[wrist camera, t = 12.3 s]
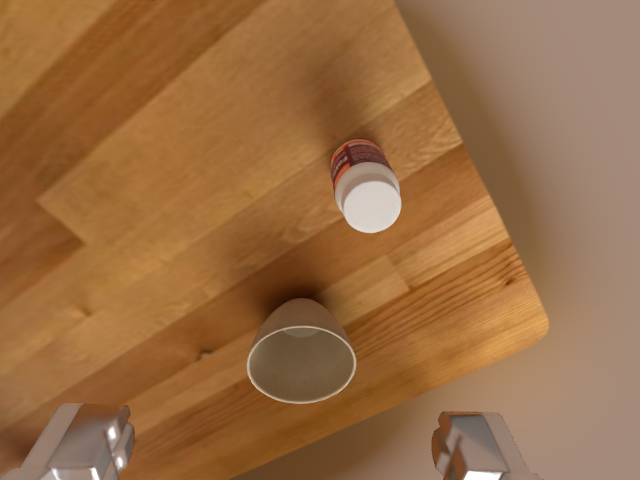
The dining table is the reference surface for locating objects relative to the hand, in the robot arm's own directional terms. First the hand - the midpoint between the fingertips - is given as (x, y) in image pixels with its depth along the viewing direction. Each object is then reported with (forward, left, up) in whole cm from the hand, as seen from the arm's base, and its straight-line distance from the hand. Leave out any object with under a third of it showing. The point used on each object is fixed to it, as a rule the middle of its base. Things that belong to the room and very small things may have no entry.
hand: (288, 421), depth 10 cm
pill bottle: (+2, +5, -26) cm, 27 cm away
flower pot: (+19, +1, -26) cm, 32 cm away
